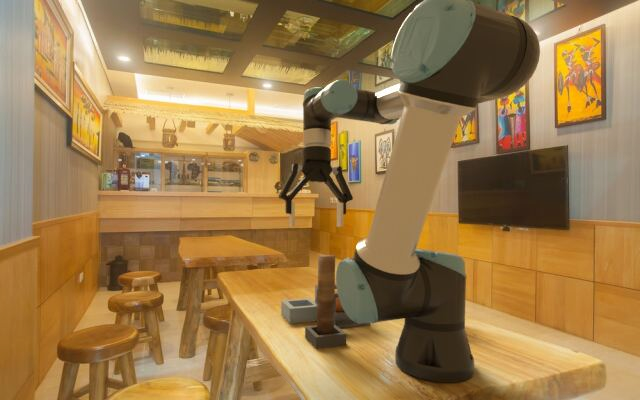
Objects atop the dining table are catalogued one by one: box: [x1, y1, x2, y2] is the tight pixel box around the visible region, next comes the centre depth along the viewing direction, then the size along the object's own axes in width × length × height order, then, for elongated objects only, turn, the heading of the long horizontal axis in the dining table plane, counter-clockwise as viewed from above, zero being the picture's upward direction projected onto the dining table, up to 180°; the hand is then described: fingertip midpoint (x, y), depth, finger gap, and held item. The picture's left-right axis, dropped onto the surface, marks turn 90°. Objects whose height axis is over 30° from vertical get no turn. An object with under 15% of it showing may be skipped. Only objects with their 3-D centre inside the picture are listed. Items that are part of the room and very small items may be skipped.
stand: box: [304, 324, 348, 349], centre depth 84 cm, size 8×8×2 cm
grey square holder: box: [280, 297, 317, 324], centre depth 101 cm, size 9×9×4 cm
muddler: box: [316, 254, 336, 335], centre depth 84 cm, size 4×4×20 cm
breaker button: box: [336, 297, 344, 312], centre depth 100 cm, size 4×4×4 cm
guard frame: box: [314, 283, 371, 329], centre depth 100 cm, size 12×12×9 cm
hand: (316, 226), depth 94 cm, fingers open, 13 cm apart
